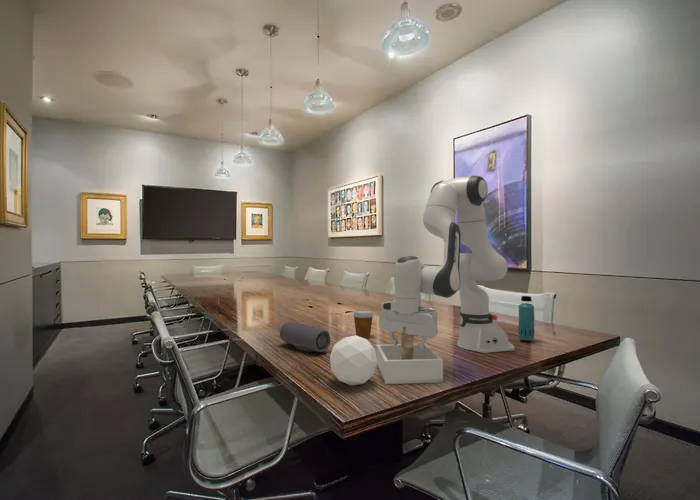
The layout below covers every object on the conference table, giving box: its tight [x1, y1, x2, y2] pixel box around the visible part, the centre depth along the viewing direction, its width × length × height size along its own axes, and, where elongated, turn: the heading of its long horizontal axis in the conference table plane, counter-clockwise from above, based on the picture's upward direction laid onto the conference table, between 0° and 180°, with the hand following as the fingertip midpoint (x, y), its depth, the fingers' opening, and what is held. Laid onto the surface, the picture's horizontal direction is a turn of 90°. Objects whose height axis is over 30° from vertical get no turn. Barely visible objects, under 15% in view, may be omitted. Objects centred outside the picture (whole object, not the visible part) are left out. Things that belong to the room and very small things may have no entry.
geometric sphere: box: [329, 334, 377, 387], centre depth 108 cm, size 14×15×15 cm
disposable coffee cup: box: [352, 309, 374, 340], centre depth 162 cm, size 10×10×12 cm
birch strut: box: [400, 327, 414, 360], centre depth 116 cm, size 5×5×14 cm
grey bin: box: [376, 343, 444, 385], centre depth 116 cm, size 18×18×7 cm
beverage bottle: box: [517, 295, 535, 341], centre depth 154 cm, size 6×7×20 cm
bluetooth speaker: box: [279, 321, 332, 353], centre depth 144 cm, size 23×9×10 cm, turn 47°
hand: (407, 346), depth 116 cm, fingers open, 8 cm apart
